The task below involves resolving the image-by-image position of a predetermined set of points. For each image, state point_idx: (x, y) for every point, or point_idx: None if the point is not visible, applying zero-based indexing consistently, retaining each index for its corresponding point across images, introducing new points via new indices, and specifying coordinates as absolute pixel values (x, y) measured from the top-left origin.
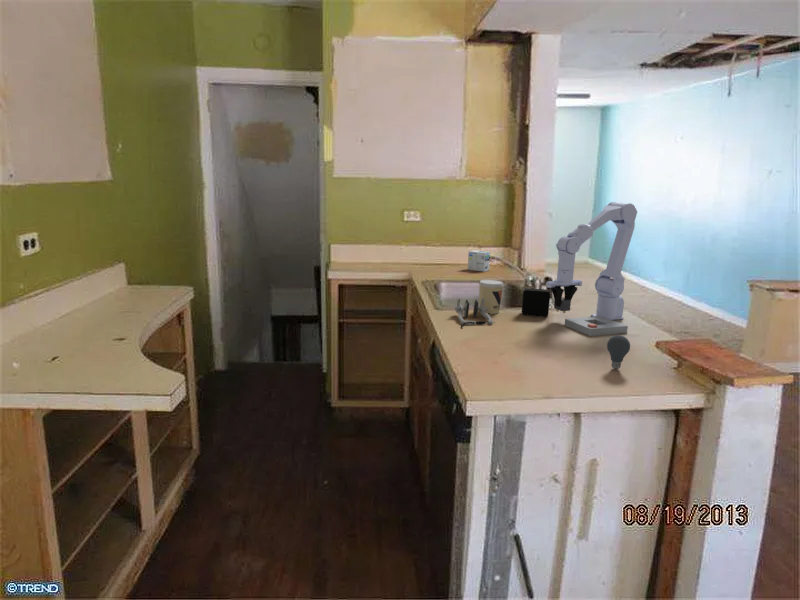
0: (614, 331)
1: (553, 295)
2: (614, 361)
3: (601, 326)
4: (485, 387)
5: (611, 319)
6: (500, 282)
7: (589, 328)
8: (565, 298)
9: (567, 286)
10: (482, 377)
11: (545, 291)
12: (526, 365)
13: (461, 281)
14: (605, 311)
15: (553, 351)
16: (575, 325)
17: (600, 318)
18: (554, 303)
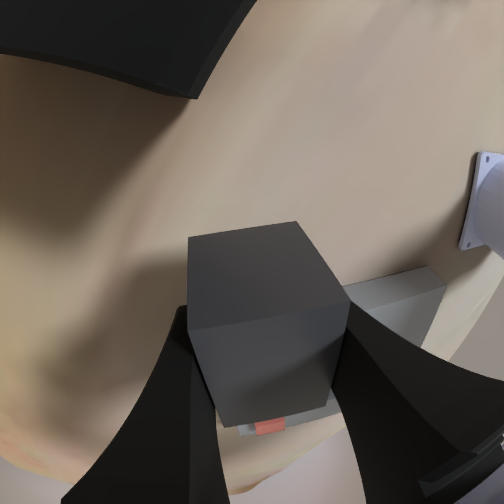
0: None
1: (136, 404)
2: None
3: (306, 415)
4: (16, 462)
5: (480, 244)
6: None
7: (240, 432)
8: (324, 365)
9: (421, 495)
10: (6, 453)
11: (47, 46)
12: (45, 458)
13: None
14: (497, 250)
15: (87, 451)
16: None
17: (408, 327)
18: (188, 272)
